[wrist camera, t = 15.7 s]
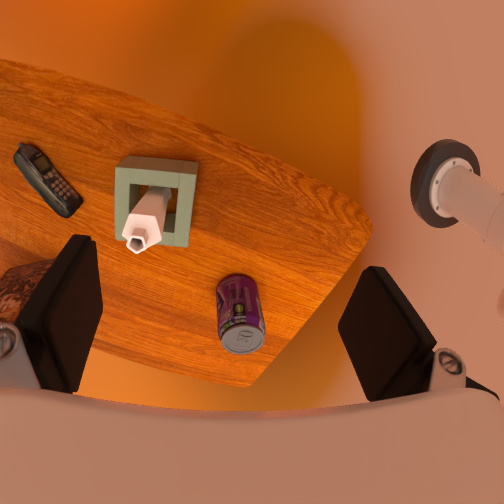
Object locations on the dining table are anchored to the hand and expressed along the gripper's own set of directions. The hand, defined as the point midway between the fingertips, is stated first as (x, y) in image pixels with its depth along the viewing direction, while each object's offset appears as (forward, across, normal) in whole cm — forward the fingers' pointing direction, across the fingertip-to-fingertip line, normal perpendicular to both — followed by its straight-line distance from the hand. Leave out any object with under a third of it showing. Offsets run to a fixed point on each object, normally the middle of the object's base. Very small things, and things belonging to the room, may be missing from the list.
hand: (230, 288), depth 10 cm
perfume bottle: (+34, +7, +10) cm, 36 cm away
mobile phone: (+33, +25, +8) cm, 43 cm away
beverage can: (+34, -7, +26) cm, 43 cm away
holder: (+33, +7, +10) cm, 35 cm away
